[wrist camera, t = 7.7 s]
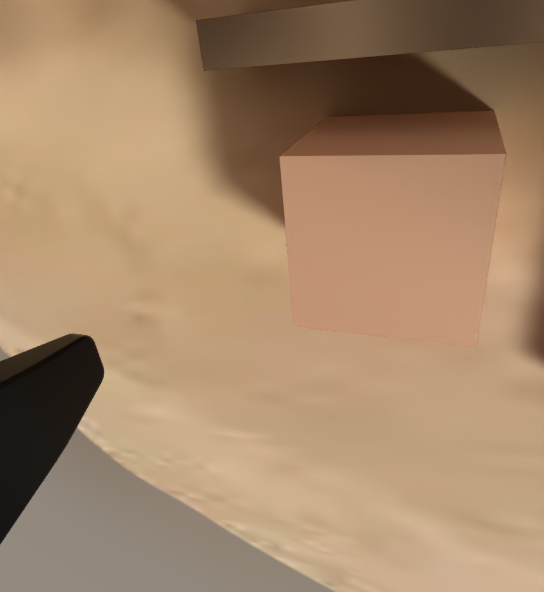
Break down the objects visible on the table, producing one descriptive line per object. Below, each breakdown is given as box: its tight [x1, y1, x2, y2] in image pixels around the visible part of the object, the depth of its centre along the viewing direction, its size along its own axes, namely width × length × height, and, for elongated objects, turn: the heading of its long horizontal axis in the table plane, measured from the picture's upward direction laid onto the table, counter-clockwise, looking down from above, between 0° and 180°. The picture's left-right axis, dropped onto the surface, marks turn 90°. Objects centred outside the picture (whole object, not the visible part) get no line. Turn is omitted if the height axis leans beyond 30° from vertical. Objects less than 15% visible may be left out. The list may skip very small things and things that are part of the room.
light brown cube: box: [279, 111, 506, 348], centre depth 14 cm, size 5×5×5 cm
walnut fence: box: [196, 0, 544, 71], centre depth 14 cm, size 14×13×3 cm
